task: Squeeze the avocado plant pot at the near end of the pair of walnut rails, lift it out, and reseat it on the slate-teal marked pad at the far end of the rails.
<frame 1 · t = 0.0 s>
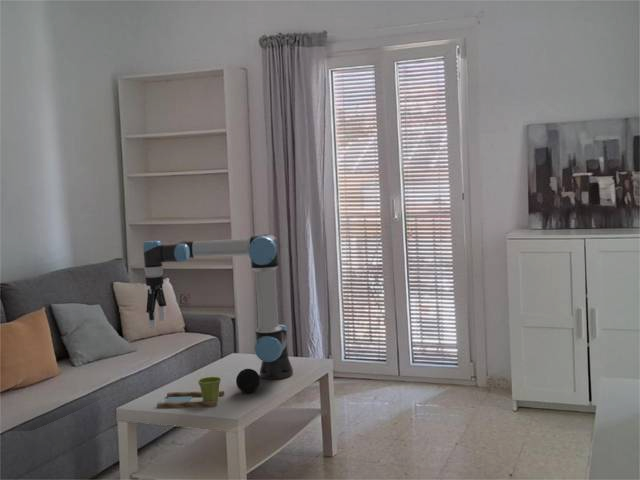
hand: (157, 324, 323), 28 cm above the table, fingers open, 13 cm apart
plant pot: (210, 401, 300), on the table
speaker: (248, 392, 309), on the table
marked pad: (177, 401, 302), on the table
pair of walnut rails: (191, 400, 301), on the table
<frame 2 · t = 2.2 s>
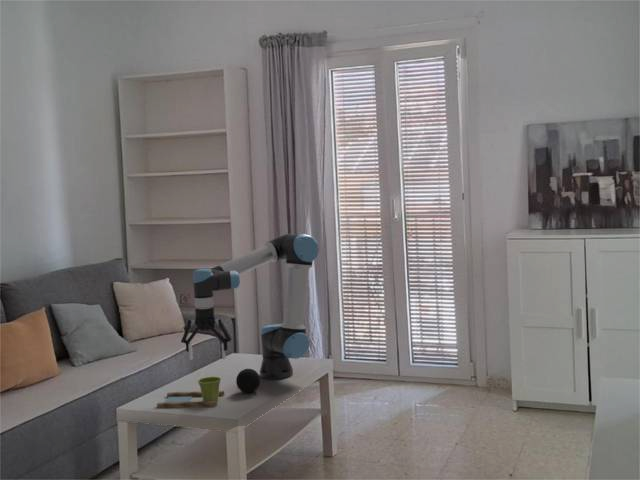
hand: (207, 359, 299), 17 cm above the table, fingers open, 13 cm apart
nothing on the table moved.
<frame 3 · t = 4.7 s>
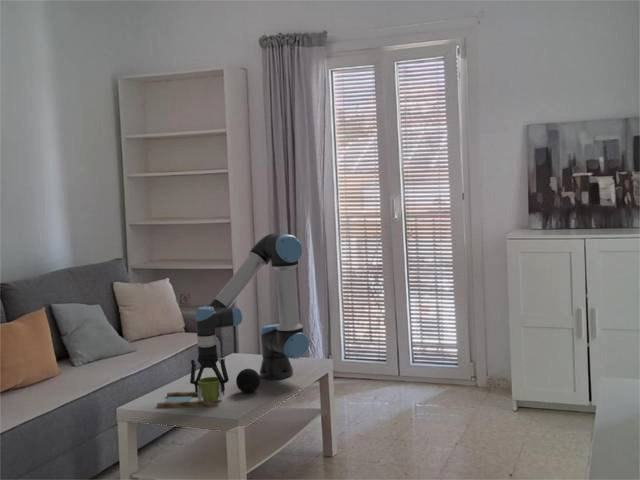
hand: (210, 399, 300), 0 cm above the table, fingers closed on plant pot, 8 cm apart
plant pot: (210, 400, 300), on the table, touching gripper
everything else where it was.
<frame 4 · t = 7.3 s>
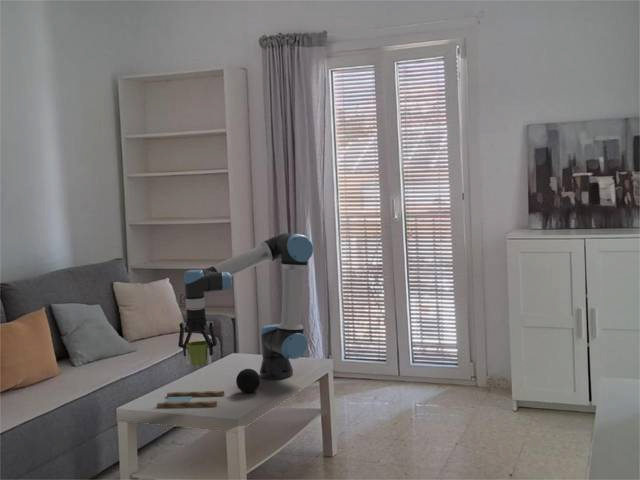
hand: (198, 363, 299), 16 cm above the table, fingers closed on plant pot, 8 cm apart
plant pot: (199, 364, 299), point 15 cm above the table, touching gripper
everything else where it was.
when the fingers open (1 cm above the table, at t = 10.4 s): plant pot stays where it is, resting on marked pad.
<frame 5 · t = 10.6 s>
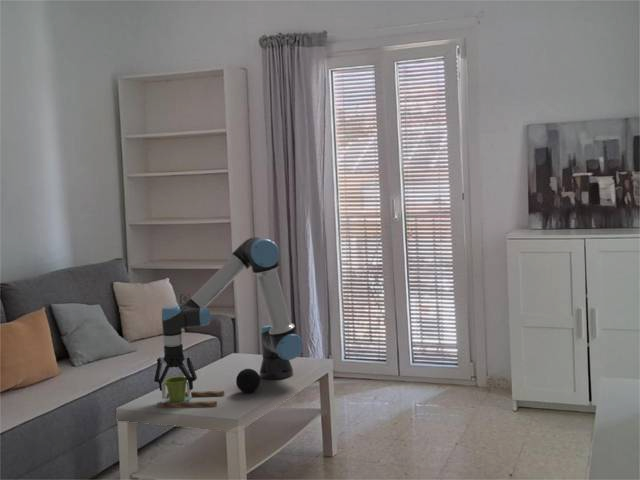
hand: (177, 397, 302), 1 cm above the table, fingers open, 10 cm apart
plant pot: (177, 400, 302), resting on marked pad
everything else where it was.
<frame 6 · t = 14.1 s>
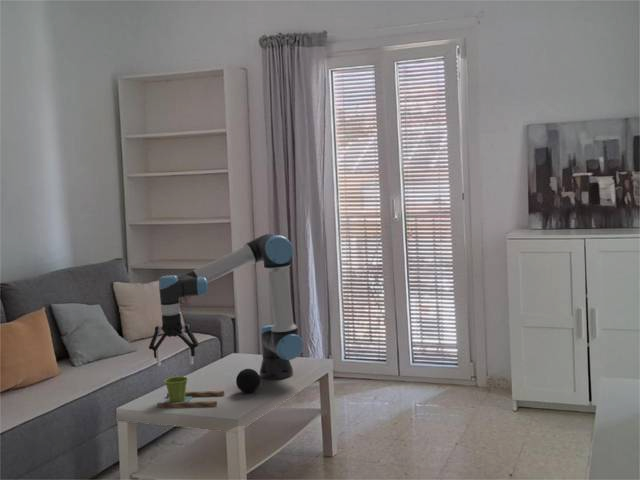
hand: (175, 364, 300), 15 cm above the table, fingers open, 13 cm apart
nothing on the table moved.
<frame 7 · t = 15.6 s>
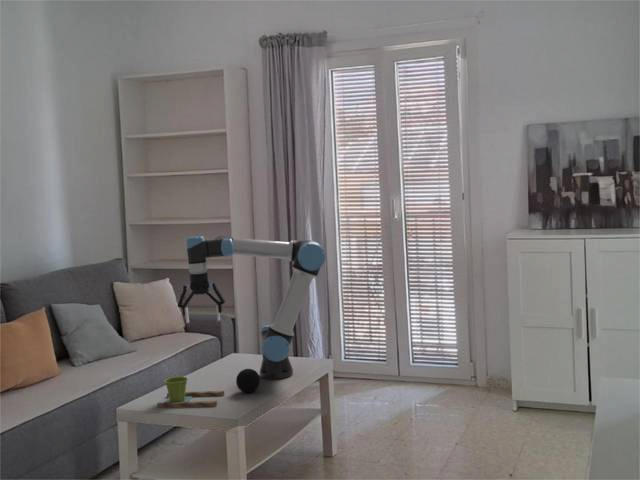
hand: (203, 321, 316), 29 cm above the table, fingers open, 13 cm apart
nothing on the table moved.
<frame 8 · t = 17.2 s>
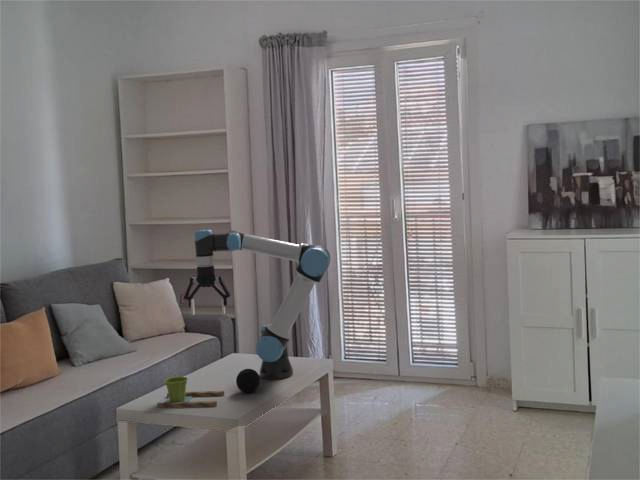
hand: (208, 314, 320), 32 cm above the table, fingers open, 13 cm apart
nothing on the table moved.
at the end: plant pot 0.1 cm off-centre on the marked pad, point 0.2 cm above the marked pad's base; plant pot tilted 0°; the gripper is holding nothing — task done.
